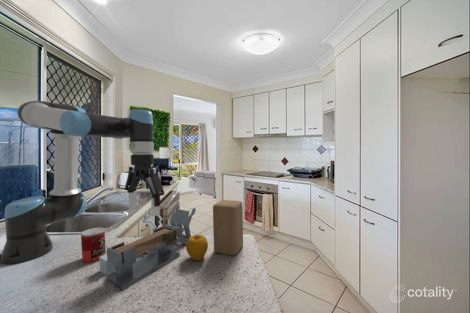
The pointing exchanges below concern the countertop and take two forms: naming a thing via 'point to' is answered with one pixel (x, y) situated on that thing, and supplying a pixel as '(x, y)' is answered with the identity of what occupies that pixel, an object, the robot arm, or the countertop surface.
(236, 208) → the wooden block
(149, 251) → the rest block
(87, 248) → the canned food
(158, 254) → the bracket
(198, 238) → the apple
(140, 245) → the rail
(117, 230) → the countertop surface
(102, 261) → the rest block
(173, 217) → the bracket
